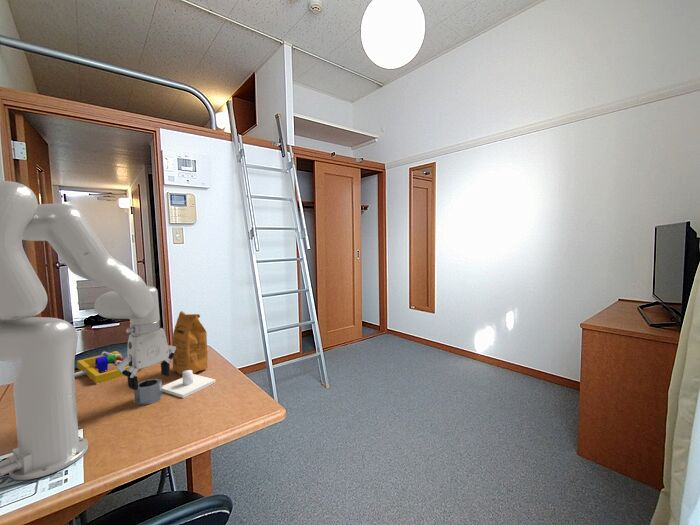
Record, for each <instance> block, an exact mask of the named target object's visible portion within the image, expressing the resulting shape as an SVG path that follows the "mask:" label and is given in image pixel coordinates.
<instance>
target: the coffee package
mask: <svg viewBox="0 0 700 525" xmlns="http://www.w3.org/2000/svg"><path fill="white" fill-rule="evenodd" d="M199 318H201V315H200V314H198V313H191V314H189V313H188V314H187V313H186V312H185V311H179V315H178V317H177V320H176V322H175V323H176V324H175V325H174V330H173V332H172V342H171V346H175V347H176V350H175V353H174V356H173V358H172V359H171V361H172V371H173V372H174V373H177V374H178V375H179V376H182V372H183V371H186V370H192V372H193V374H197V373H198V372H201V371H204V370H206V369H208V366H209V365H208V364H209V363H208V360H209V359H208V338H207V336H208V334H207V332H208V331H207V330H206V328H205V327H204V326H203V324H202V323H201V321H200V319H199Z"/></svg>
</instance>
